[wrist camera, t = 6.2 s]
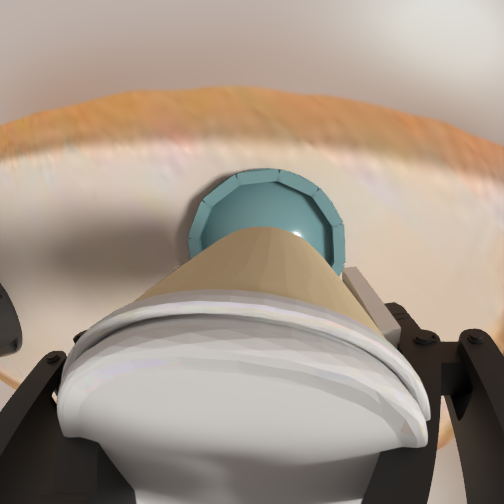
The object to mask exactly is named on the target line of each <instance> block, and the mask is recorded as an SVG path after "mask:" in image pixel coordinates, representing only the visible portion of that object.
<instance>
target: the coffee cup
mask: <svg viewBox="0 0 504 504" xmlns="http://www.w3.org/2000/svg"><path fill="white" fill-rule="evenodd" d="M57 415H58V419H59V423H60V427H61V430H62V433H63V435H64V436H65V437H69V438H70V437H82V438H86V439H89V440H92V441H96V442H98V443H99V444H100V446H101V447H102V449H103V450H104V452H105V453H106V454H107V456H108V457H109V458H110V460H111V461H112V463H113V464H114V465H115V467H116V468H117V469H118V470H119V472H120V473H121V474H122V476H123V477H124V478H125V479H126V481H127V482H128V483H129V484H130V485H131V487H132V488H133V489H134V490H135V496H136V504H361V501H362V499H363V497H364V494H365V492H366V489H367V487H368V484H369V482H370V479H371V477H372V474H373V472H374V469H375V466H376V463H377V460H378V458H379V455H380V452H381V451H386V450H390V449H394V448H398V447H411V448H419V447H424V446H426V445H427V442H428V432H427V426H426V421H429V420H430V406H429V401H428V397H427V394H426V391H425V389H424V386H423V384H422V382H421V380H420V377H419V376H418V375H417V373H416V372H415V370H414V369H413V368H412V366H411V365H410V363H409V362H408V361H407V360H406V359H405V357H404V356H403V355H402V354H401V353H400V352H399V351H398V350H397V349H396V348H395V347H394V346H393V345H392V344H391V343H390V342H389V341H387V340H386V339H385V337H384V336H383V335H382V333H381V332H380V330H379V329H378V328H377V326H376V325H375V324H374V322H373V321H372V319H371V318H370V317H369V315H368V314H367V313H366V311H365V310H364V309H363V307H362V306H361V305H360V303H359V302H358V301H357V300H356V298H355V297H354V296H353V294H352V293H351V292H350V290H349V289H348V288H347V287H346V285H345V284H344V283H343V281H342V280H341V279H340V278H339V276H338V275H337V274H336V273H335V271H334V270H333V269H332V268H331V267H330V265H329V264H328V263H327V262H326V261H325V259H324V258H323V257H322V256H321V255H320V254H319V253H318V252H317V251H316V250H315V249H314V248H313V247H312V246H311V245H310V244H309V243H308V242H307V241H305V240H304V239H302V238H301V237H299V236H297V235H295V234H293V233H291V232H289V231H286V230H283V229H279V228H275V227H267V226H260V227H250V228H244V229H241V230H238V231H235V232H233V233H231V234H229V235H227V236H225V237H223V238H222V239H220V240H218V241H217V242H215V243H214V244H212V245H211V246H209V247H208V248H206V249H205V250H203V251H202V252H201V253H199V254H198V255H196V256H195V257H193V258H192V259H190V260H189V261H188V262H186V263H185V264H183V265H182V266H181V267H179V268H178V269H176V270H175V271H174V272H172V273H171V274H170V275H168V276H167V277H165V278H164V279H163V280H161V281H160V282H159V283H157V284H156V285H155V286H153V287H152V288H151V289H149V290H148V291H146V292H145V293H144V294H143V295H141V296H140V297H139V298H138V299H136V300H135V301H134V302H133V303H130V304H128V305H126V306H124V307H122V308H120V309H118V310H116V311H114V312H112V313H111V314H109V315H107V316H106V317H104V318H103V319H102V320H100V321H99V322H97V323H96V324H94V325H93V326H91V327H90V328H89V329H88V330H87V331H86V332H85V333H84V334H83V335H82V336H81V337H80V338H79V340H78V341H77V342H76V344H75V345H74V347H73V348H72V350H71V351H70V353H69V354H68V357H67V359H66V362H65V364H64V367H63V372H62V377H61V384H60V387H59V392H58V397H57Z"/></svg>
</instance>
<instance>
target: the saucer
mask: <svg viewBox="0 0 504 504" xmlns="http://www.w3.org/2000/svg"><path fill="white" fill-rule="evenodd" d="M342 222H343V221H342V219H341V218H340V216H339V214H338V212H337V210H336V209H335V207H334V205H333V203H332V202H331V201H330V199H329V198H328V197H327V196H326V194H325V193H324V192H323V191H322V190H321V188H319V187H318V186H316V185H315V184H313V183H312V182H310V181H309V180H307V179H305V178H303V177H302V176H300V175H297V174H294V173H292V172H289V171H284V170H280V169H270V168H266V169H254V170H249V171H245V172H242V173H237V174H236V175H233V176H232V177H230V178H228V179H226V180H225V181H223V182H222V183H220V184H219V185H218V186H217V187H215V188H214V189H213V190H212V191H211V192H210V193H209V194H208V195H207V196H206V197H205V198H203V201H201V203H200V205H199V208H198V210H197V213H196V215H195V217H194V220H193V223H192V226H191V229H190V231H189V234H188V237H189V238H188V239H187V241H188V247H189V253H190V259H192V258H193V257H195V256H196V255H198V254H199V253H201V252H202V251H203V250H205V249H206V248H208V247H209V246H211V245H212V244H214V243H215V242H217V241H218V240H220V239H222V238H223V237H225V236H227V235H229V234H231V233H233V232H235V231H238V230H241V229H244V228H250V227H260V226H267V227H275V228H279V229H283V230H286V231H289V232H291V233H293V234H295V235H297V236H299V237H301V238H302V239H304V240H305V241H307V242H308V243H309V244H310V245H311V246H312V247H313V248H314V249H315V250H316V251H317V252H318V253H319V254H320V255H321V256H322V257H323V258H324V259H325V261H326V262H327V263H328V264H329V265H330V267H331V268H332V269H333V270H334V271H335V273H336V274H337V275H338V276H339V275H340V273H341V272H342V268H344V266H345V265H344V264H343V263H345V236H344V224H343V223H342Z"/></svg>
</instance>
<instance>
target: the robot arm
mask: <svg viewBox="0 0 504 504" xmlns="http://www.w3.org/2000/svg"><path fill="white" fill-rule="evenodd" d="M342 280H343V283H344V284H345V285H346V287H347V288H348V289H349V290H350V292H351V293H352V294H353V296H354V297H355V298H356V300H357V301H358V302H359V303H360V305H361V306H362V307H363V309H364V310H365V311H366V313H367V314H368V315H369V317H370V318H371V319H372V321H373V322H374V324H375V325H376V326H377V328H378V329H379V330H380V332H381V333H382V335H383V336H384V337H385V339H386V340H387V341H389V342H390V343H391V344H392V345H393V346H394V347H395V348H396V349H397V350H398V351H399V352H400V353H401V354H402V355H403V356H404V357H405V359H406V360H407V361H408V362H409V363H410V365H411V366H412V368H413V369H414V370H415V372H416V373H417V375H418V376H419V377H420V380H421V382H422V384H423V386H424V389H425V391H426V394H427V397H428V401H429V406H430V420H429V421H426V426H427V432H428V442H427V445H426V446H424V447H419V448H411V447H398V448H394V449H390V450H386V451H381V452H380V455H379V458H378V460H377V463H376V466H375V469H374V472H373V474H372V477H371V479H370V482H369V484H368V487H367V489H366V492H365V494H364V497H363V499H362V501H361V504H427V500H428V497H429V492H430V487H431V481H432V476H433V471H434V465H435V458H436V451H437V443H438V433H439V422H440V406H441V396H442V395H444V397H445V401H446V404H447V408H448V411H449V415H450V418H451V422H452V426H453V430H454V434H455V438H456V442H457V447H458V451H459V456H460V461H461V466H462V472H463V477H464V484H465V490H466V497H467V504H504V356H503V355H502V353H501V352H500V350H499V349H498V347H497V346H496V344H495V343H494V341H493V340H492V338H491V337H490V336H489V335H488V334H487V333H486V332H484V331H482V330H480V329H468V330H464V331H463V332H462V333H461V334H460V337H459V341H458V342H440V338H439V336H438V335H437V334H435V333H434V332H431V331H428V330H421V329H420V327H419V326H418V325H417V324H416V322H415V321H414V320H413V319H412V318H411V316H410V315H409V314H408V313H407V311H406V310H405V309H404V308H403V307H402V306H401V305H399V304H397V303H395V302H393V303H386V304H384V303H383V302H382V300H381V299H380V298H379V296H378V295H377V294H376V292H375V291H374V290H373V288H372V287H371V286H370V284H369V283H368V282H367V280H366V279H365V278H364V276H363V275H362V274H361V273H360V271H359V270H358V269H357V267H348V268H342ZM86 331H87V330H85V331H83V332H80V333H79V334H77V335H76V336H75V337H74V338H73V340H74V343H75V344H76V342H77V341H78V340H79V338H80V337H81V336H82V335H83V334H84V333H85V332H86ZM21 346H22V331H21V326H20V322H19V319H18V316H17V313H16V311H15V308H14V306H13V304H12V302H11V300H10V298H9V296H8V294H7V292H6V291H5V289H4V288H3V286H2V285H1V284H0V357H3V356H7V355H11V354H14V353H16V352H18V351H19V350H20V348H21ZM66 359H67V356H66V354H65V353H64V352H63V351H52V352H50V353H48V354H47V355H45V356H44V357H43V358H42V359H41V360H40V361H39V363H38V364H37V365H36V366H35V367H34V369H33V370H32V371H31V372H30V374H29V375H28V376H27V377H26V379H25V380H24V381H23V382H22V384H21V385H20V386H19V388H18V389H17V390H16V391H15V393H14V394H13V395H12V397H11V398H10V399H9V401H8V402H7V403H6V405H5V406H4V408H3V409H2V411H1V412H0V504H136V496H135V490H134V489H133V488H132V487H131V485H130V484H129V483H128V482H127V481H126V479H125V478H124V477H123V476H122V474H121V473H120V472H119V470H118V469H117V468H116V467H115V465H114V464H113V463H112V461H111V460H110V458H109V457H108V456H107V454H106V453H105V452H104V450H103V449H102V447H101V446H100V444H99V443H98V442H96V441H92V440H89V439H86V438H82V437H70V438H69V437H65V436H64V435H63V433H62V430H61V427H60V423H59V419H58V415H57V404H56V403H55V401H54V399H53V398H52V393H53V392H55V393H56V395H57V397H58V392H59V387H60V384H61V377H62V372H63V367H64V364H65V362H66Z"/></svg>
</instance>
